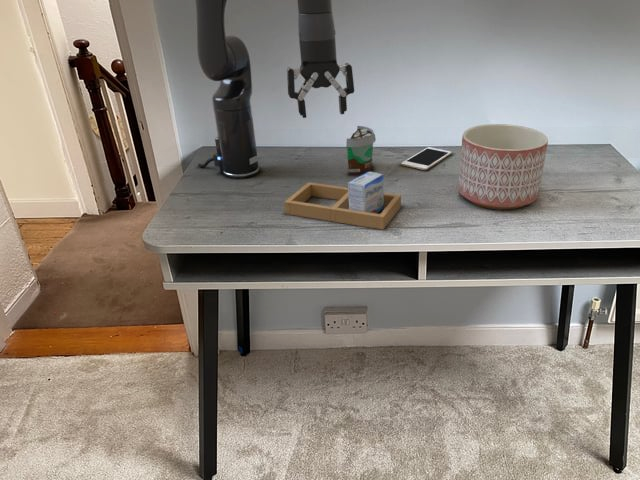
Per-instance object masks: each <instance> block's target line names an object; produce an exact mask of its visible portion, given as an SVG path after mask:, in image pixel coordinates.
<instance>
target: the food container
mask: <svg viewBox="0 0 640 480" xmlns="http://www.w3.org/2000/svg"><path fill="white" fill-rule="evenodd" d="M375 142H376V135H375V131H374V130H373V129H372V128H370V127H368V126H363V125H356V131H355V132H353V133H352V134H351V136H350V138H346V146H345V147H346V150H347V167H348V176H357V175H358V176H361V175H363V174H365V173H366V172H372V167H373V152H374V151H373V150H374V143H375Z"/></svg>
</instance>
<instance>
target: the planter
mask: <svg viewBox="0 0 640 480" xmlns="http://www.w3.org/2000/svg"><path fill="white" fill-rule="evenodd" d="M548 144H549V139H548V136H547V135H546V134H545V133H543V132H541V131H539V130H537V129H534V128H530V127H527V126H522V125H515V124H509V123H508V124H507V123H506V124H505V123H489V124H488V123H487V124H480V125H476V126H472V127H469V128H467V129H465V130H464V131H463V132H462V136H461V149H460V162H459V174H458V192H459V194H460V195H461V196H462V197H463V198H465V199H466V200H468V201H469V202H470V203H472V204H474V205H477V206H479V207H482V208H486V209H492V210H514V209H518V208H522V207H524V206H526V205H530V204H531V203H534V202H535V201H537V199H538V198H539V196H540V191H541V186H542V180H543V179H542V178H543V175H544V174H543V173H544V169H545V168H544V167H545V161H546V156H547V149H548Z"/></svg>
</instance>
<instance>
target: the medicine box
mask: <svg viewBox="0 0 640 480" xmlns="http://www.w3.org/2000/svg"><path fill="white" fill-rule="evenodd" d="M384 177H385V175H384V174H383V173H379V172H375V171H369V172H366V173H365V174H360V175H358V177H355V178H354V179H352V180H350V181H348V182H347V188H348V195H349V208H348V209H350V210H356V211H363V212H369V213H376V214H380V212H381V213H382V211H383V210H384V209H385V207H384V193H385V191H384V190H385V188H384V187H385V184H384V183H385V181H384V179H385V178H384Z"/></svg>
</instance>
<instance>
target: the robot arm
mask: <svg viewBox="0 0 640 480" xmlns="http://www.w3.org/2000/svg"><path fill="white" fill-rule="evenodd" d="M228 3H229V0H194V5H195V24H196V27H195V28H196V53H197V60H198V64H199V67H200V69H201V71H202V73H203V75H204V76H205V77H206V78H208V79H209V80H211V81H212V82H219V85H218V87H217V89H216V90H215V92H213V94H212V96H211V104H212V110H213V115H214V121H215V127H216V134H217V136H215V138H214V143H215V148H216V153H214V154H213V155H212V157H210V158H208V159H206V160H205V162H204V163H201V162H200V163H198V164H197V166H198V168H199V167H200V168H206V167H207V166H208V165H209V164H210V163H211V162H214V167H219V172H220V174H222V175H224V176H225V177H228V178H232V179H243V178H245V179H246V178H250V177H253V176H255V175H257V174H259V173H260V165H259V159H258V151H257V143H256V135H255V127H254V119H253V111H252V110H253V109H252V102H251V101H252V99H251V98H252V94H253V82H252V81H253V79H252V66H251V65H252V64H251V58H250V54H249V50H248V48H247V45H246V43H245V42H244V41H243V40H242V39H241V38H240V37H239V36H237V35H234V34H226V25H225V23H226V22H225V19H226V10H227V6H228ZM296 8H297V30H298V42H299V54H300V67H292V66H291V67H287V68H286V80H287V95H288V96H289V98H290V99H294V100H296V101H297V109H298V114H299V115H300V116H301V117H302V118H303V119H306V118H307V108H306V100H305V98H306V96H307V94H308V93H309V92H310V90H311V89H312V88H313V89H320V88H330V87H331V86H333V88H334V89H335V91H337V93H338V94H339V95H338V109H339V114H340V115H345V112H347V110H348V105H347V97H348V95H349V96H350V94H354V93H355V84H354V82H355V81H354V75H353V66H352V65H351V64H350V63H348V62H345V63H344V64H340V65H339V64H338V61H337V59H338V58H337V45H336V27H335V20H334V14H333V1H332V0H296ZM340 72H341V74H342V75H343V76H344V78H345V85H346V87H344V88H343V87H342V86H341V84H340V83H339V82H338V81H337V80H336V79H337V77H338V74H339V73H340ZM299 75H301V76H302V78H303V79H304V80H303V81H302V83H301V85H300V88H299V90H298V91H296V88H295V86H296V85H295V80H298V76H299Z"/></svg>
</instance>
